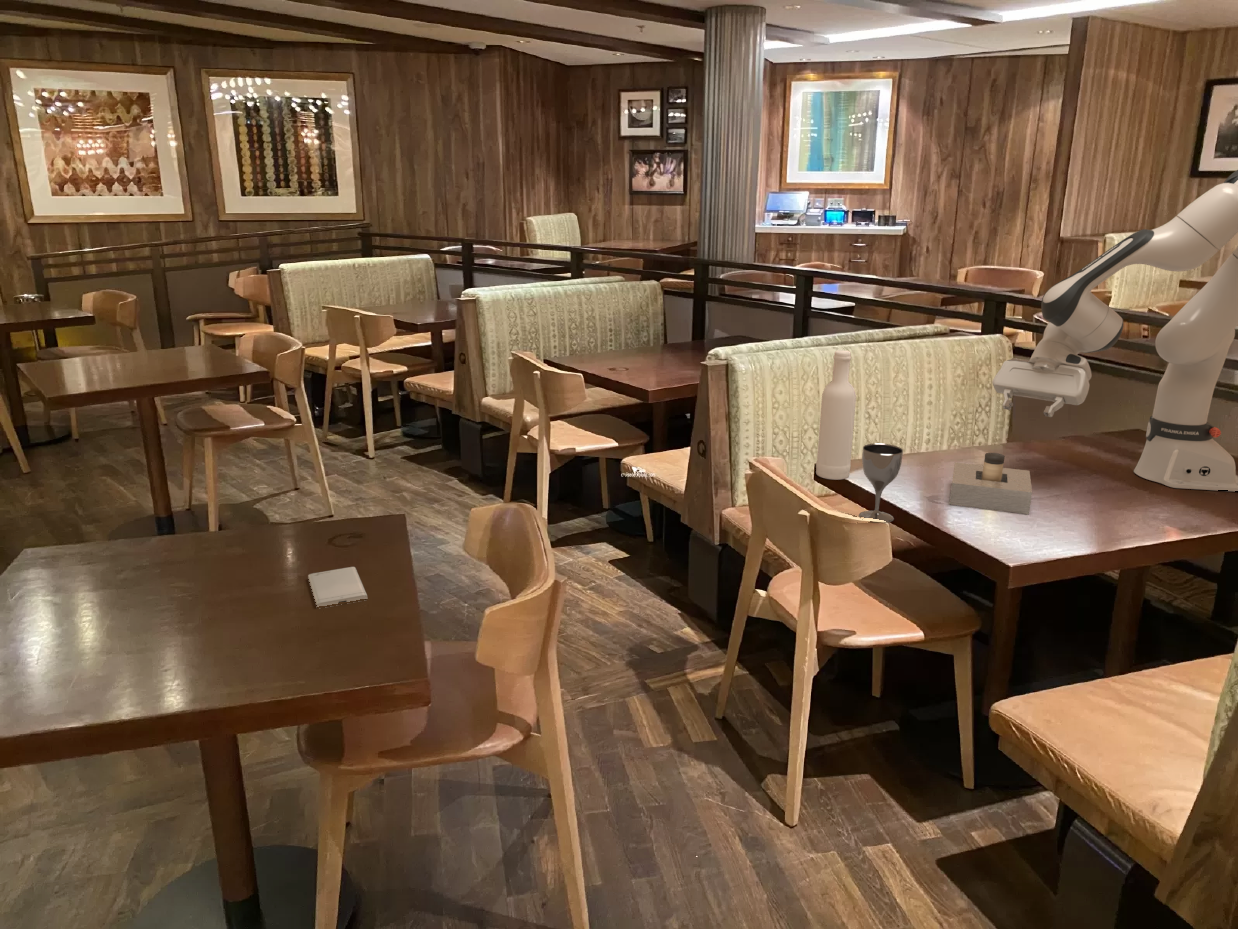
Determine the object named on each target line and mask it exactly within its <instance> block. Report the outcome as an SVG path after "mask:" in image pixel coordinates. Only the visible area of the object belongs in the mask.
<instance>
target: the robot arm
mask: <svg viewBox="0 0 1238 929" xmlns="http://www.w3.org/2000/svg"><path fill="white" fill-rule="evenodd" d="M1237 234H1238V169H1237V170H1235V171H1234V172H1232V173H1231V174H1230V175H1228V176H1227V178H1226V179H1225V180H1224V182H1222V183H1219V184H1217V185H1214V186H1213V187H1211V188H1210V189H1209V190H1207V191H1206V192H1204V193H1203V194H1202V195H1200V196H1198V197H1197V198H1196V199H1194V201H1192V202H1191V203H1189V204H1188V205H1187V206H1186V207H1184V209H1182V210H1181V211H1180V212H1178V214H1177V215H1175V216H1174V217H1173V218H1172V219H1171V220H1169V221H1168V222H1166V223H1165V224H1162V225H1161V226H1158V227H1155V228H1153V229H1148V228H1147V229H1145V228H1143V229H1140V230H1138V231H1136V232H1134V233H1131V234H1130V235H1129V236H1128V235H1127V237H1125V238H1124V239H1122V240H1121V241H1119V242H1118V243H1116V244H1115V245H1113V246H1112V247H1110V248H1109V249H1108V250H1106V251H1105V252H1103V253H1101V254H1100V255H1099V256H1097V257H1096V258H1095V259H1093V260H1091V262H1089V263H1088V264H1086V265H1085V266H1083V267H1082V268H1080V269H1079V270H1078V271H1076V272H1075V273H1073V274H1071V275H1070V276H1068V277H1066V278H1064V279H1062V280H1060V281H1059V282H1057V283H1055V284H1054V285H1052V286H1051V287H1050V288H1049V289H1048V290H1047V291H1046V292H1045V294H1044V295H1043V296H1042V298H1041V306H1040V307H1041V308H1040V309H1041V314H1042V318H1043V319H1045V320H1046V321H1047V322H1048V323H1047V325H1046V327H1045V329H1044V331H1043V336H1042V339H1041V340H1039V342H1038V343H1037V345H1036V347H1035V348H1034V351H1033V353H1032V354H1031V357H1030V359H1025V358H1024V359H1023V358H1017V357H1012V358H1010V359H1007V360H1004V361H1003V363H1002V365H1001V366H1000V369H999V370H998V371H997V373H996V374H995V376H994V377H993V379H992V381H991V382H992V386H993V388H994V390H995V392H996V393H998V394H1003V397H1004V401H1003V403H1002V406H1001V407H1002V408H1003V410H1008V411H1010V410H1011V411H1012V408H1013V406H1014V403H1013V401H1012V400H1011V399H1012V398H1013V396H1016V397H1021V398H1022V397H1023V398H1029V399H1035V400H1041V401H1046V402H1047V401H1048V402H1054V403H1052V404H1051V405H1050V406H1049V405H1046V406H1045V409H1044V410H1043V415H1044V416H1045V417H1048V418H1052V417H1053V416H1054V414H1055V412H1057V411H1058V410H1060V409H1062V408H1063V407H1064V405H1065V404H1067V405H1073V406H1080V405H1081V404H1083V403H1084V402H1085V401H1086V399H1087V396H1088V394H1089V390H1090V385H1091V384H1090V380H1091V379H1092V369H1091V367H1090V364H1089V361H1088V360H1087V358H1086V357H1083V356H1081V355H1078V354H1080V353H1083V354H1090V353H1091V354H1092V353H1098V352H1099V353H1100V352H1104V351H1107V350H1109V349H1111V348H1112V347H1113V346H1114V345H1115V344H1117V342H1118V340H1119V339H1120V337H1121V336H1122V333H1123V329H1124V318H1122V316H1120V315H1119V314H1118V313H1117V311H1115V310H1114V309H1113V308H1111V307H1110V306H1109V305H1108V304H1106V303H1105V302H1103V301H1102V300H1101V299H1100V298H1098V297H1097V296H1096V295H1095V294H1094V293H1093V292H1092V290H1093V289H1095V288H1097V287H1098V286H1099V285H1100V284H1102V283H1104V281H1106V280H1108V279H1109V278H1110V277H1112V276H1113V275H1115V274H1116V273H1118V272H1119V271H1120V270H1122V269H1124V268H1125V267H1127V266H1131V265H1146V266H1151V267H1154V268H1158V269H1161V270H1165V271H1169V272H1176V273H1177V272H1179V273H1181V272H1187V271H1192V270H1195V269H1198V268H1199V267H1201V266H1202V265H1204V264H1205V263H1207V262H1208V261H1209V260H1210V259H1211V258H1213V257H1214V256H1215V255H1216V254H1217V253H1219V251H1220V250H1222V248H1224V247H1225V245H1227V244H1228V243H1229V242H1230V241H1231V240H1232V239H1233V238H1235V236H1236V235H1237ZM1236 327H1238V245H1237V247H1235V249H1234V250H1233V251H1232V252H1231V253H1230V255H1229V256H1228V257H1227V258H1226V260H1225V261H1224V262H1223V263H1222V265H1220V266H1219V268H1218V270H1216V272H1215V273H1214V275H1213V276H1212V277H1211V278H1210V279H1209V280H1208V282H1206V284H1205V285H1204V286H1202V288H1201V289H1200V290H1199V291H1198V292H1197V293H1196V294H1194V295H1193V297H1191V298H1190V299H1189V301H1188V302H1186V303H1185V305H1183V307H1182V308H1180V310H1179V311H1177V313H1176V314H1175V315H1174V316H1173V317H1172V318H1171V319H1170V321H1168V322H1167V323H1166V324H1165V325H1164V326H1163V327H1162V328H1161V329H1160V330H1159V332H1158V333H1157V334H1156V338H1155V342H1154V344H1155V346H1154V347H1155V350H1156V352H1157V354H1158V355H1159V357H1160V358H1161V359H1162V360H1164V361H1166V362H1168V364H1167V367H1166V369H1165V371H1164V374H1163V375H1162V377H1161V379H1160V381H1159V382H1158V386H1157V391H1156V396H1155V400H1154V401H1155V402H1154V405H1153V411H1152V415H1151V416H1150V417H1149V420H1148V422H1147V428H1146V433H1145V439H1146V441H1145V444H1144V448H1143V450H1142V453H1141V455H1140V458H1139V460H1138V462H1137V464H1136V466H1135V468H1134V469H1133V473H1134V474H1136V475H1137V476H1139V477H1140V478H1143V479H1146V480H1149V481H1152V482H1156V483H1159V484H1162V485H1165V486H1167V487H1170V488H1173V489H1187V490H1188V489H1189V490H1190V489H1191V490H1205V491H1206V490H1207V491H1218V490H1228V491H1227V492H1235V491H1238V475H1237V474H1236V469H1237V468H1236V462H1235V458H1234V457H1233V456H1232V455H1231V454H1230V453H1229V452H1228V451H1227V450H1226V449H1225V448H1224V447H1222V445H1220V444H1219V443H1218V442H1217V441H1216V440H1215V439H1213V438H1219V436H1221V435H1222V431H1221V430H1220V429H1219V428H1218V427H1216V426H1214V425H1213V424H1211V423H1209V422H1208V416H1209V414H1210V408H1211V403H1212V399H1213V394H1214V391H1215V387H1216V385H1217V382H1218V379H1219V377H1220V376H1221V372H1222V370H1223V367H1224V364H1225V361H1226V359H1227V356H1228V353H1229V349H1230V347H1231V345H1232V343H1233V342H1234V339H1235V336H1236V330H1235V328H1236Z"/></svg>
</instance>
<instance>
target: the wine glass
mask: <svg viewBox="0 0 1238 929" xmlns="http://www.w3.org/2000/svg"><path fill="white" fill-rule="evenodd" d="M903 454H904V450H903V448H902V447H900V446H897V445H894V444H889V443H877V442H876V443H868V444H865V445H863V447H862V458H861V459H862V461H861V462H862V469H863V470H862V471H863V473H864V475H865V477H866V478H867V480H868V482H870V484H871V485H872V487H873V489H874V492H875V493H874V494H875V503H874V504H875V505H874V510H865V511H862V512H860V513H859V514H858V517H859V518H860V517H864V518H873V519H879V520H884V521H886V522H888V523H891V522H893V521H894V520H895V518H894V516H893V515H892V514H889V513H887V512H884V511H880V502H881V497H882V494H883V491H884V489H886V487H887V486H888V485H890V483H892V482H893V481H894V480H895V479H896V478H897V476H898V474H899V472H900V469H901V466H902V461H903Z"/></svg>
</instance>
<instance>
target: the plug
mask: <svg viewBox="0 0 1238 929" xmlns="http://www.w3.org/2000/svg"><path fill="white" fill-rule="evenodd" d="M1004 463H1005V455H1004V454H1002V453H998V452H987V453H984V458H983V474H982V480H987V481H996V482H1001V478H1002V471H1003V468H1004Z"/></svg>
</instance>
